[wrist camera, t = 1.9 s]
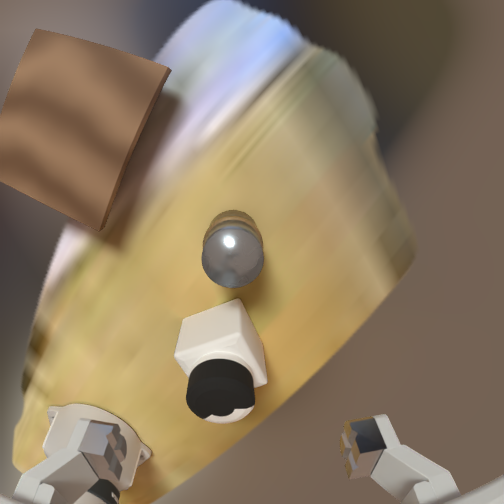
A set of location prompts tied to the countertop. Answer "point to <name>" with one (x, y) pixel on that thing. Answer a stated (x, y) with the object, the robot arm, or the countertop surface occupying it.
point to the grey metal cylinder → (232, 250)
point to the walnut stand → (75, 122)
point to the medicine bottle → (221, 362)
